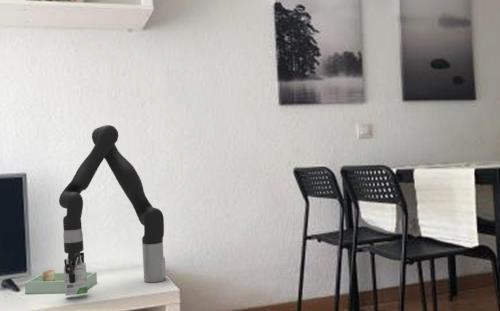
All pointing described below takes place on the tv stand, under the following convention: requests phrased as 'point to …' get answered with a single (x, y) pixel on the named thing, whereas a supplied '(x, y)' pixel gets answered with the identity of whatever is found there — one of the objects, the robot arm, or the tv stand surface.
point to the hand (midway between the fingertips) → (75, 280)
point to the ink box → (76, 281)
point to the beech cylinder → (48, 275)
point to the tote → (54, 284)
